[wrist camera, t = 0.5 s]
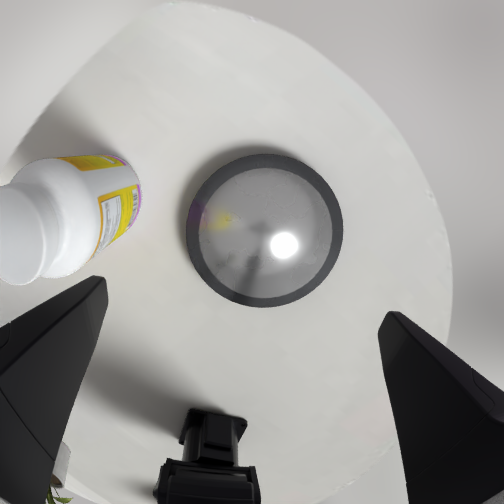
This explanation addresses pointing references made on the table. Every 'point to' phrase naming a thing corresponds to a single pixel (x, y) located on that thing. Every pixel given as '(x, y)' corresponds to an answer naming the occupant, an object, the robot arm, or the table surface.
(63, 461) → the house plant
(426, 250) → the table surface
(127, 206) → the supplement bottle
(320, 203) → the base
